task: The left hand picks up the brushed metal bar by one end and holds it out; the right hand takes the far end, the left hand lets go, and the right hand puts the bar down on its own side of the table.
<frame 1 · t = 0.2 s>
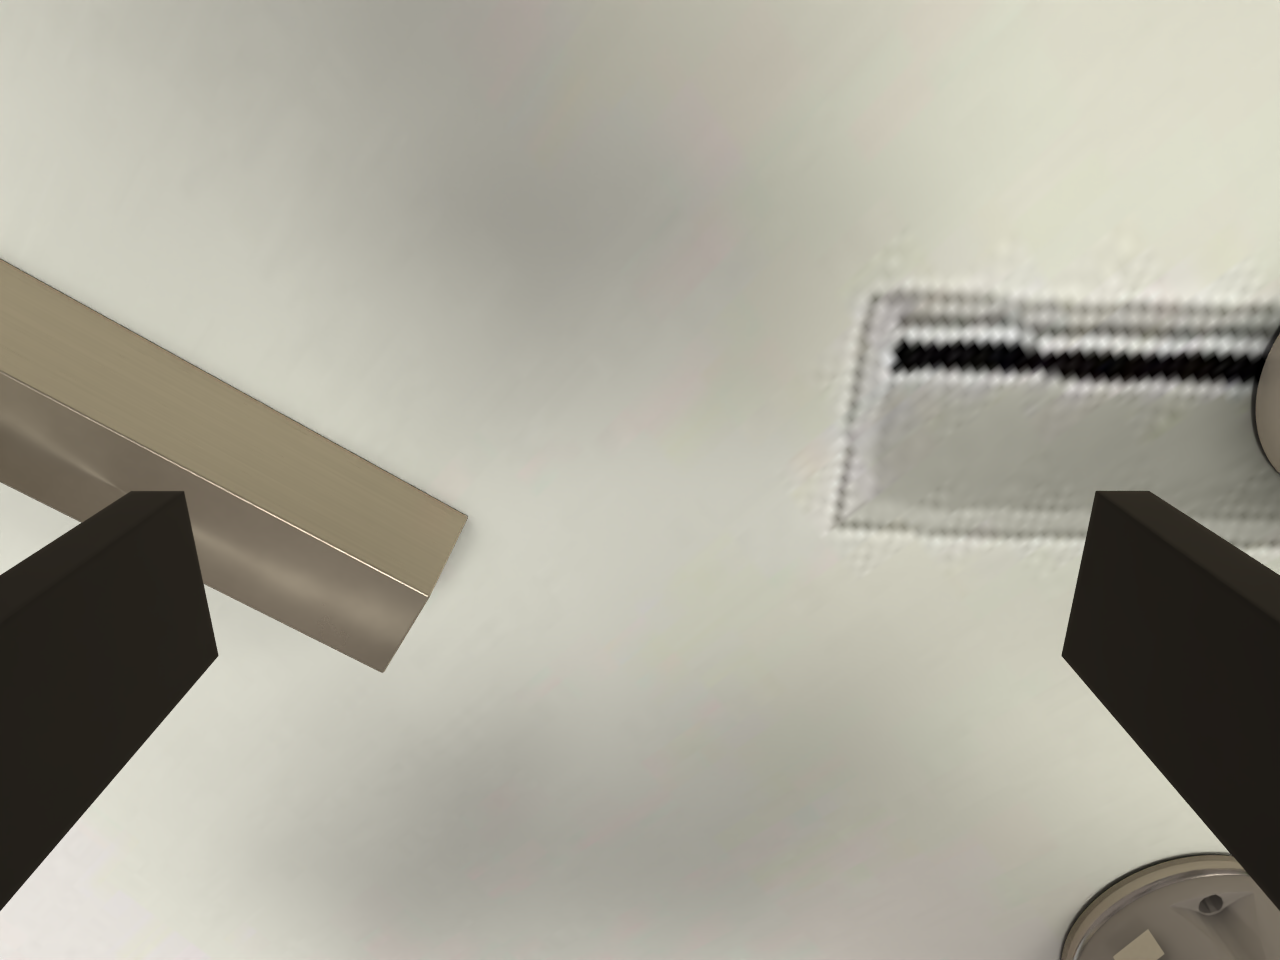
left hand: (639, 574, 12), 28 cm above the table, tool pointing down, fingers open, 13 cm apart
bar: (218, 426, 41), on the table
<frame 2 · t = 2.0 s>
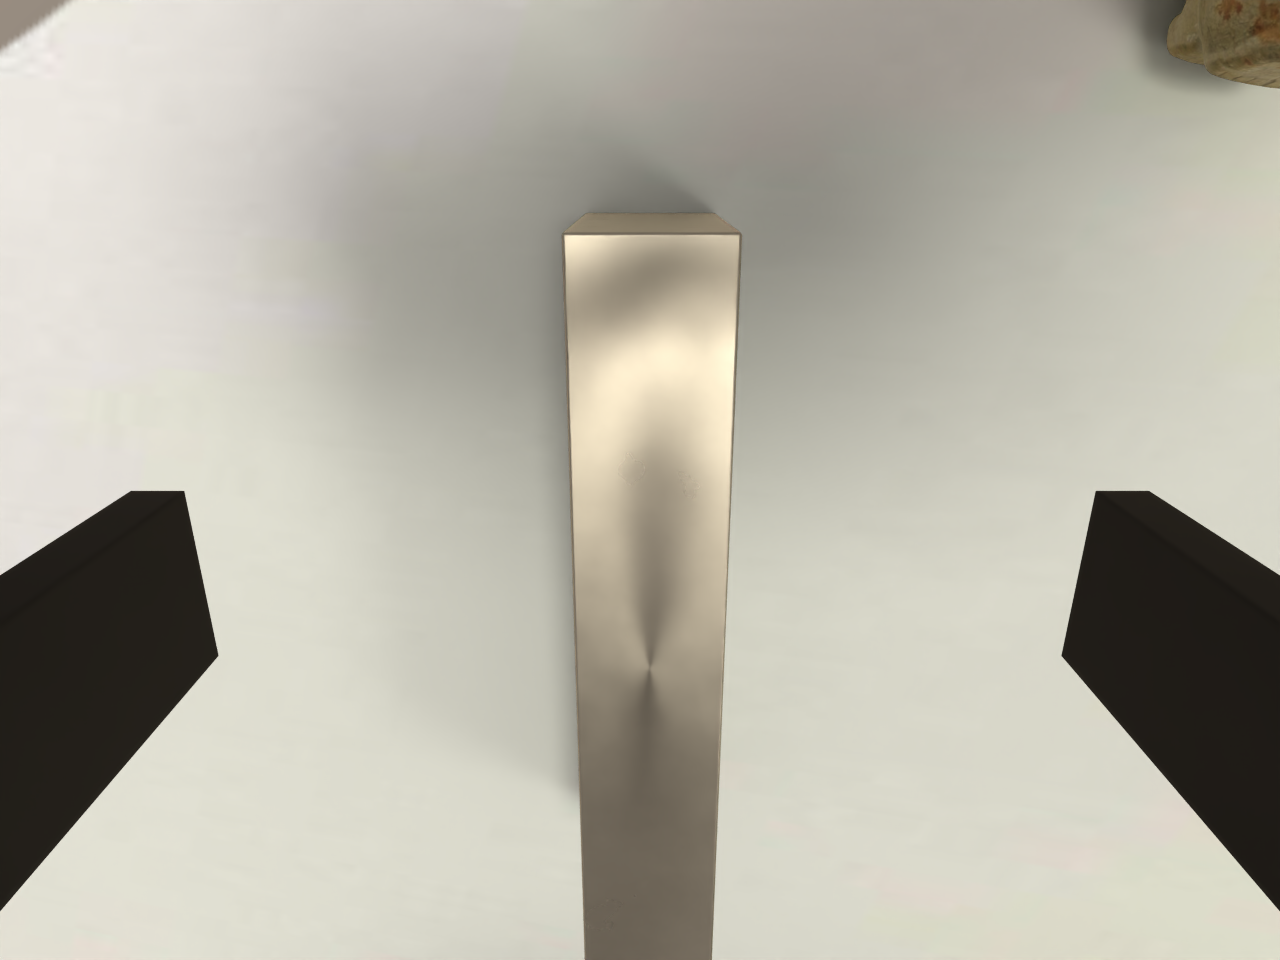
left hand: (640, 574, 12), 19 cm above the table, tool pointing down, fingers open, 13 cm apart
bar: (649, 548, 33), on the table
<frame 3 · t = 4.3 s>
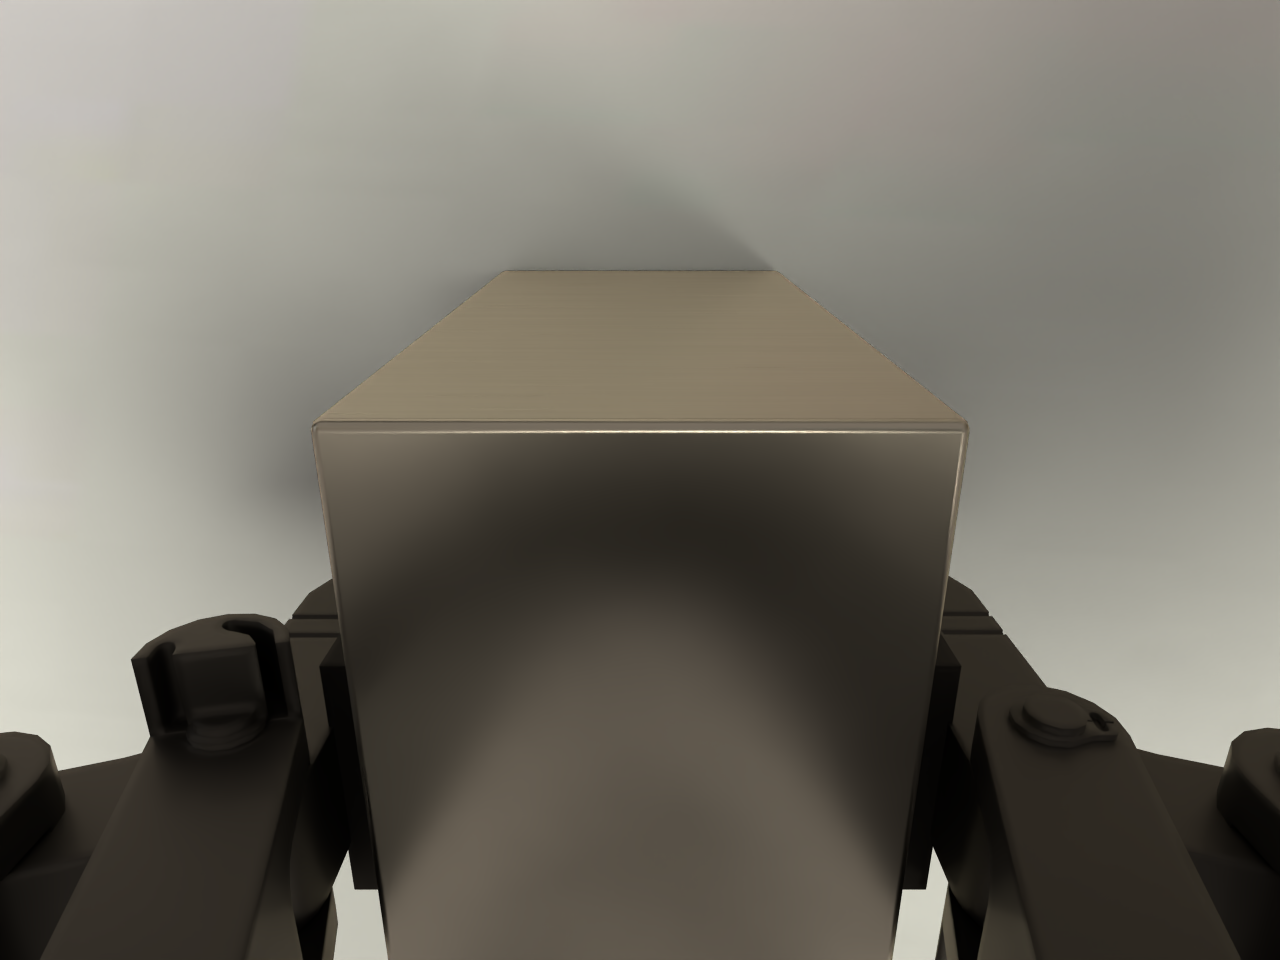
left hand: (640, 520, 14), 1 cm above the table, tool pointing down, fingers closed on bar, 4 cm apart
bar: (640, 873, 18), on the table, touching left hand
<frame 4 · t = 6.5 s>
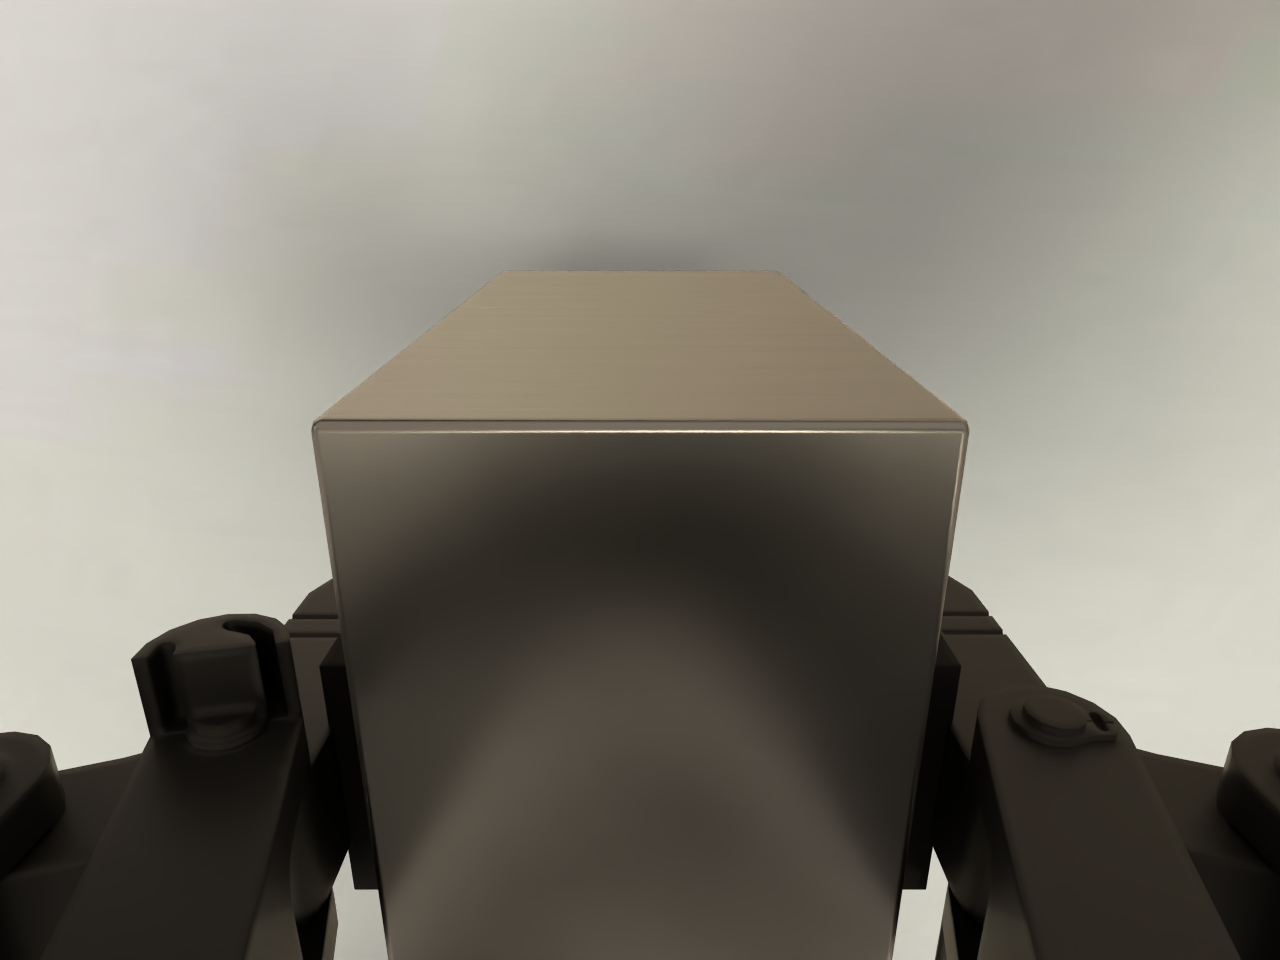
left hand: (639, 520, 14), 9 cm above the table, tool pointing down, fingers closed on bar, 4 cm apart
bar: (640, 873, 18), point 8 cm above the table, touching left hand
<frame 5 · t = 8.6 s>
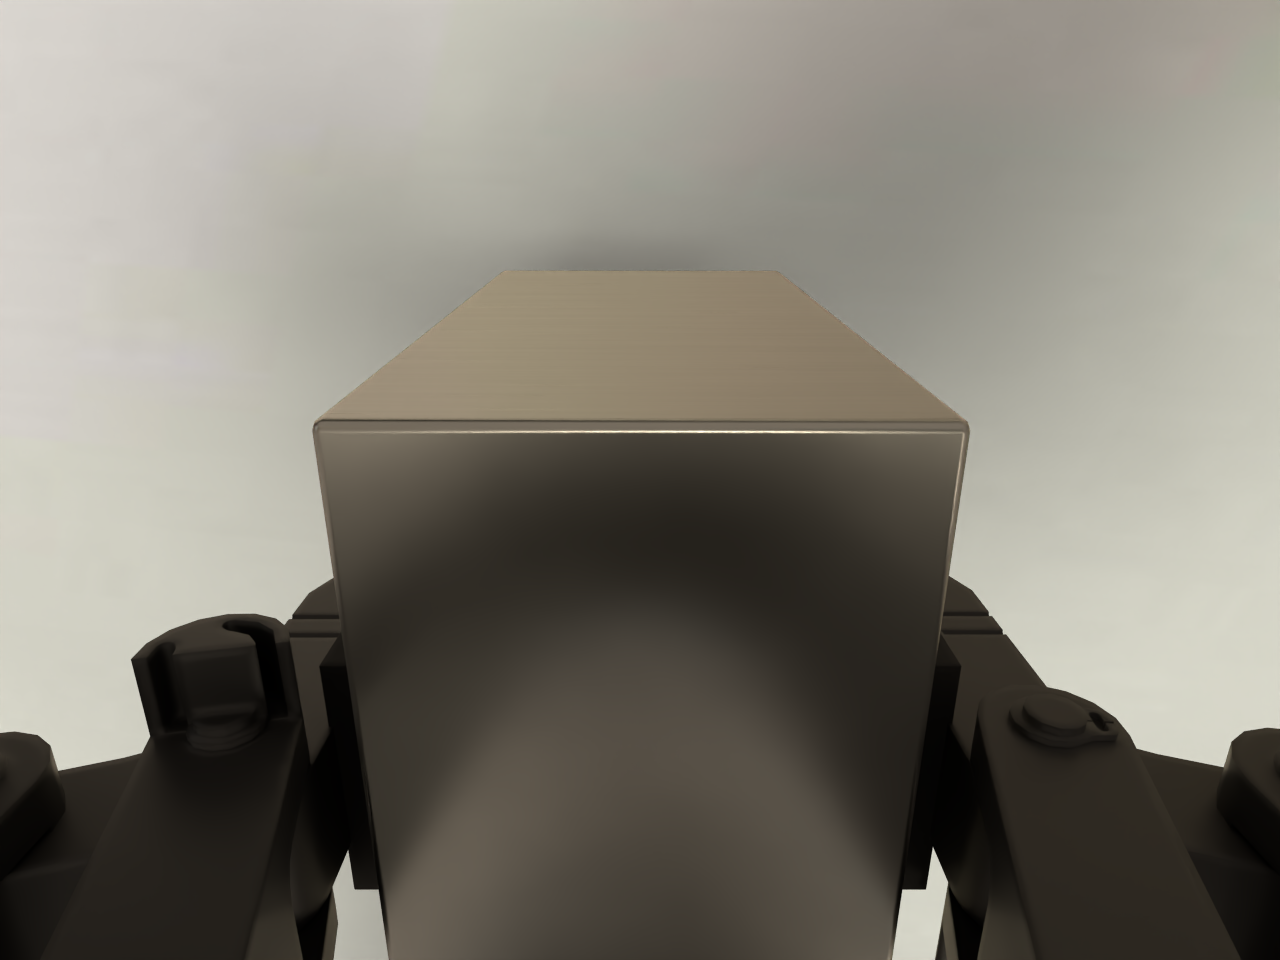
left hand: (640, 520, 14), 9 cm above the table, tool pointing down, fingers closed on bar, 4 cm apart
bar: (639, 872, 18), point 8 cm above the table, touching left hand, right hand
when the left hand's fingers open (9 cm above the table, at t = 9.2 s): bar stays where it is, held by the right hand.
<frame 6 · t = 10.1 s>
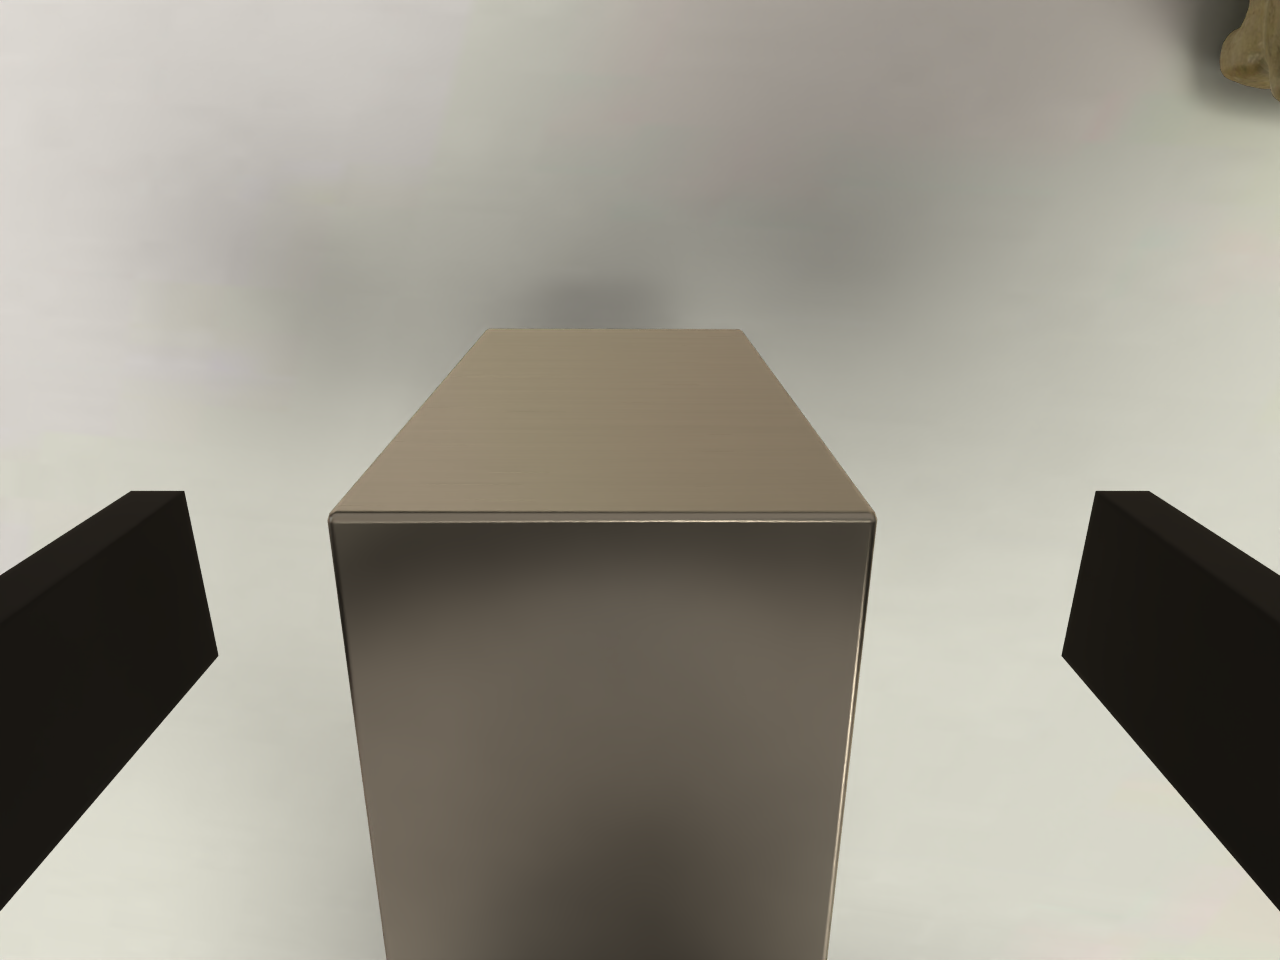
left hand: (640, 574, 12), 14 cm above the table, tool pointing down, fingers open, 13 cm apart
bar: (617, 884, 19), point 11 cm above the table, touching right hand
when the right hand's fingers open (2 cm above the table, at t = 13.5 s): bar drops 1 cm, on the table.
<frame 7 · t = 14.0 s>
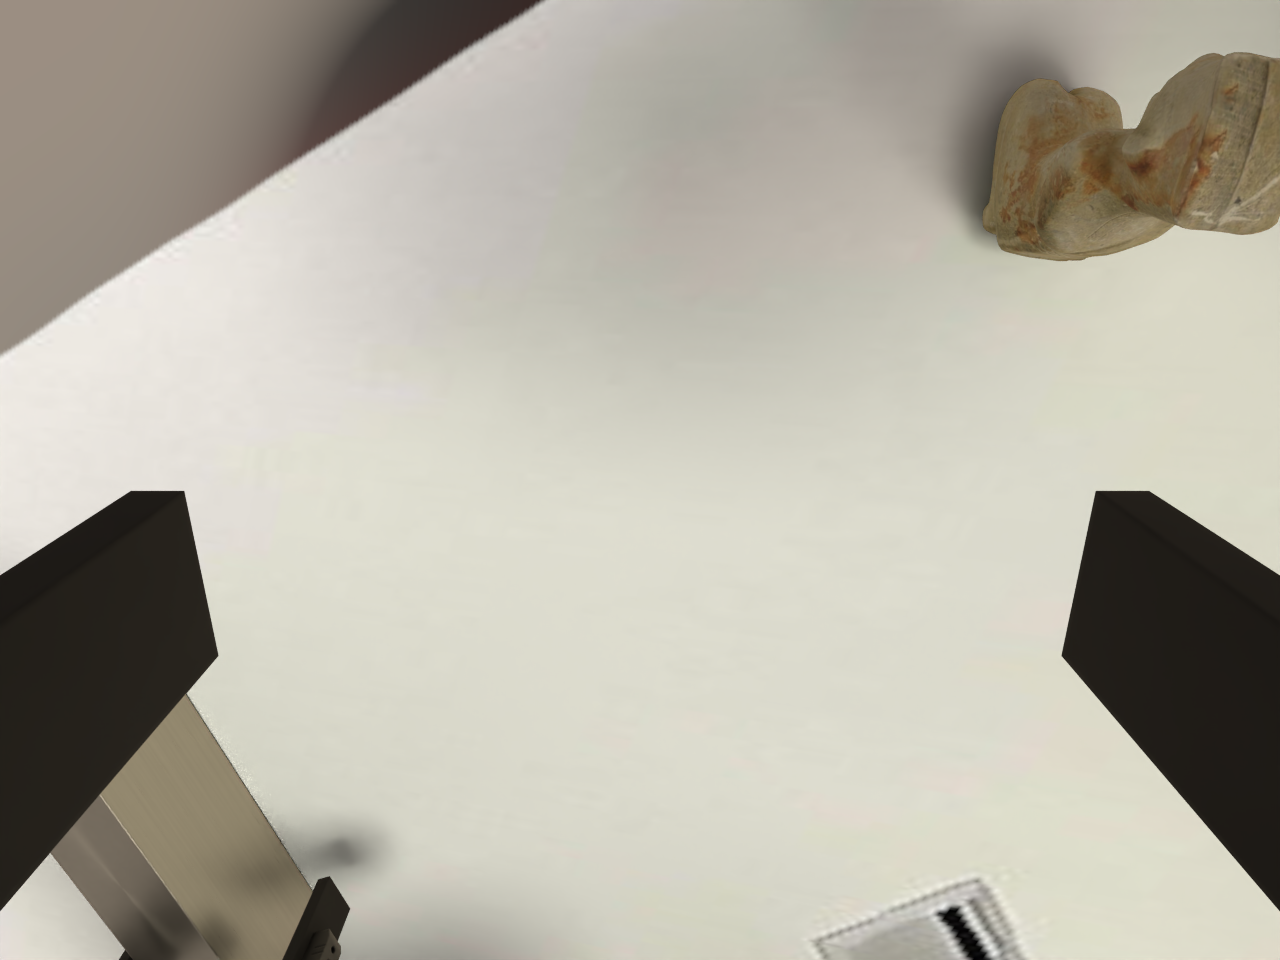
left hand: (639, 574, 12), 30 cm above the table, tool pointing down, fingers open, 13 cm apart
bar: (200, 776, 51), on the table
sculpture: (1026, 171, 39), on the table
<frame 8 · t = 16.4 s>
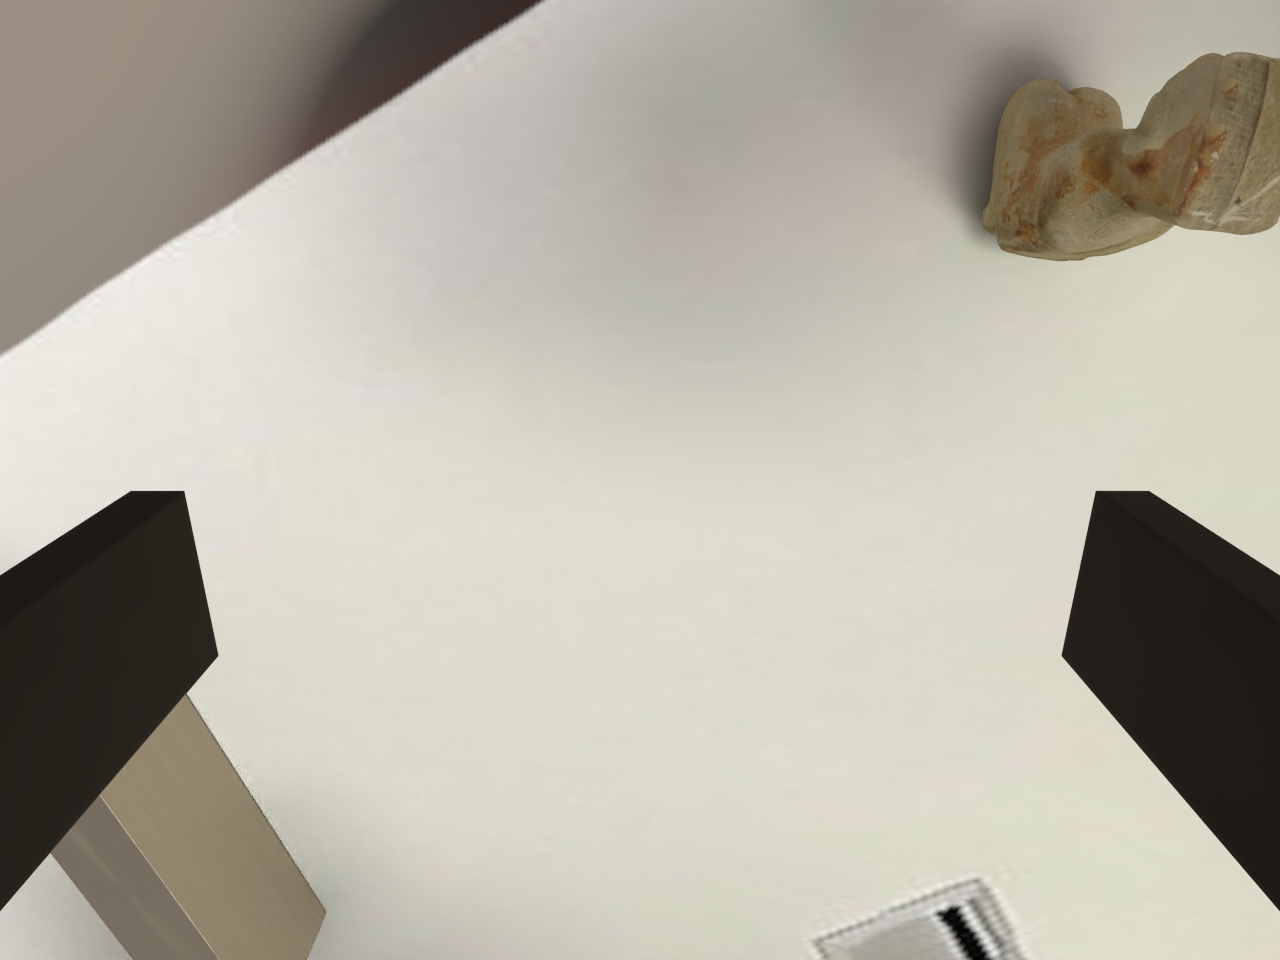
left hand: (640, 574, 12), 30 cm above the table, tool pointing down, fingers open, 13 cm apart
bar: (200, 776, 51), on the table
sculpture: (1026, 171, 39), on the table
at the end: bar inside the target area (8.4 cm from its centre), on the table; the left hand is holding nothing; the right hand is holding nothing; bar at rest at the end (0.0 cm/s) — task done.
